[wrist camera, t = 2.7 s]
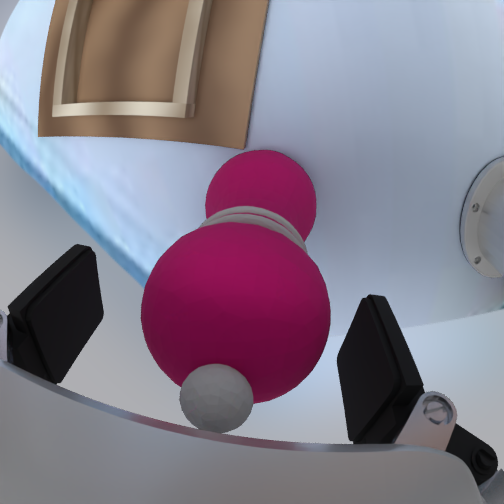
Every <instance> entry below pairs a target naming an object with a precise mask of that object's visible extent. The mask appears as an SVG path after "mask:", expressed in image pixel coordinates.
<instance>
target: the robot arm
mask: <svg viewBox="0 0 504 504" xmlns="http://www.w3.org/2000/svg"><path fill="white" fill-rule="evenodd" d="M460 234H461V244H462V248H463V252H464V254H465V256H466V259H467V260H468V262H469V263H470V264H471V266H472V267H473V268H474V269H475V270H476V271H477V272H478V273H480V274H481V275H483V276H485V277H490V278H499V277H504V157H501V158H498V159H496V160H494V161H493V162H491V163H490V164H488V165H487V166H486V167H485V168H484V169H483V170H482V171H481V173H480V174H479V175H478V177H477V178H476V180H475V181H474V183H473V185H472V187H471V189H470V191H469V193H468V195H467V198H466V201H465V204H464V208H463V212H462V217H461V227H460ZM8 309H9V312H10V314H9V315H8V316H7V315H6V314H5V312H3V311H2V310H0V504H504V471H503V470H502V469H500V470H499V471H498V470H497V466H498V460H497V456H496V453H495V451H494V450H493V449H492V448H491V447H490V446H489V445H488V444H486V443H485V442H483V441H482V440H480V439H479V438H477V437H476V436H474V435H473V434H471V433H469V432H468V431H467V430H465V429H464V428H462V427H461V426H459V425H458V424H456V420H457V411H456V408H455V406H454V404H453V402H452V401H451V400H450V399H449V398H448V397H447V396H445V395H444V394H441V393H439V392H434V391H431V392H426V393H425V392H424V389H423V382H422V379H421V377H420V375H419V372H418V369H417V367H416V364H415V362H414V360H413V357H412V355H411V352H410V350H409V348H408V345H407V343H406V341H405V339H404V336H403V334H402V332H401V329H400V327H399V325H398V323H397V321H396V318H395V316H394V314H393V312H392V310H391V308H390V305H389V303H388V301H387V299H386V298H385V297H384V296H378V295H371V294H369V295H368V296H367V297H366V298H362V300H361V302H360V304H359V307H358V309H357V311H356V314H355V316H354V319H353V321H352V323H351V326H350V328H349V330H348V333H347V335H346V337H345V339H344V342H343V344H342V346H341V348H340V351H339V353H338V356H337V367H338V373H339V379H340V384H341V391H342V397H343V403H344V409H345V417H346V424H347V431H348V438H349V440H350V441H353V444H321V443H299V442H285V441H274V440H265V439H264V440H263V439H256V438H248V437H241V436H234V435H228V434H222V433H216V432H210V431H205V430H200V429H195V428H190V427H186V426H181V425H177V424H172V423H168V422H164V421H160V420H156V419H153V418H149V417H146V416H142V415H139V414H135V413H132V412H129V411H125V410H122V409H119V408H116V407H113V406H110V405H107V404H104V403H101V402H98V401H96V400H93V399H90V398H88V397H85V396H82V395H79V394H77V393H75V392H72V391H70V390H67V389H65V388H62V387H60V386H58V385H56V384H57V383H61V382H62V380H63V379H64V377H65V375H66V374H67V372H68V371H69V369H70V368H71V366H72V364H73V363H74V361H75V360H76V358H77V357H78V355H79V354H80V352H81V350H82V349H83V347H84V346H85V344H86V343H87V341H88V340H89V338H90V337H91V335H92V334H93V332H94V331H95V329H96V328H97V326H98V325H99V324H100V322H101V321H102V319H103V314H104V311H103V304H102V299H101V293H100V285H99V278H98V271H97V262H96V255H95V252H93V251H92V249H91V247H89V246H84V245H79V244H76V245H74V246H73V247H72V248H71V249H69V250H68V251H67V252H66V253H65V254H63V255H62V256H61V257H60V258H59V259H58V260H56V261H55V262H54V263H53V264H52V265H51V266H50V267H49V268H47V269H46V270H45V271H44V272H43V273H42V274H41V275H40V276H39V277H38V278H36V279H35V280H34V281H33V282H32V283H31V284H30V285H29V286H28V287H27V288H26V289H25V290H24V291H23V292H22V293H21V294H20V295H19V296H18V297H17V298H16V299H15V300H14V301H13V302H12V303H11V304H10V305H9V306H8Z"/></svg>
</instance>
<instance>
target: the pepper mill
mask: <svg viewBox="0 0 504 504" xmlns="http://www.w3.org/2000/svg"><path fill="white" fill-rule="evenodd" d="M205 208H206V218H207V220H205V221H204V222H203V223H202V225H201V226H200V227H199V228H198V229H196V230H194V231H192V232H190V233H188V234H186V235H184V236H182V237H181V238H180V239H179V240H177V241H176V242H175V243H174V244H173V245H172V246H171V247H170V248H169V249H168V250H167V251H166V252H165V253H164V254H163V255H162V256H161V257H160V258H159V260H158V261H157V263H156V265H155V266H154V268H153V270H152V272H151V274H150V276H149V278H148V281H147V283H146V285H145V289H144V294H143V299H142V304H141V323H142V329H143V333H144V337H145V341H146V343H147V346H148V349H149V350H150V353H151V354H152V356H153V358H154V360H155V361H156V363H157V364H158V366H159V367H160V369H161V370H162V371H164V373H165V374H167V376H168V377H169V378H170V379H171V380H172V381H173V382H174V383H175V384H177V385H179V386H180V387H181V391H180V404H181V408H182V411H183V413H184V415H185V416H186V418H187V419H188V420H189V421H190V422H191V423H192V424H193V425H194V426H196V427H197V428H198V429H200V430H205V431H210V432H216V433H225V432H228V431H231V430H234V429H236V428H238V427H239V426H241V425H242V424H243V423H244V422H245V421H246V419H247V418H248V416H249V415H250V413H251V410H252V407H253V404H255V403H260V402H265V401H270V400H272V399H275V398H277V397H279V396H282V395H284V394H286V393H287V392H289V391H290V390H292V389H293V388H295V387H296V386H298V385H299V384H300V383H301V382H302V381H303V380H304V379H305V378H306V377H307V376H308V375H309V374H310V373H311V371H312V370H313V369H314V367H315V366H316V364H317V362H318V361H319V359H320V357H321V355H322V353H323V350H324V348H325V345H326V342H327V339H328V334H329V329H330V313H331V311H330V302H329V297H328V293H327V288H326V284H325V282H324V279H323V277H322V275H321V273H320V271H319V269H318V267H317V265H316V264H315V263H314V262H313V260H312V259H311V258H310V257H309V256H308V254H307V250H306V246H305V244H304V241H305V240H306V238H307V237H308V235H309V233H310V231H311V229H312V227H313V224H314V221H315V217H316V195H315V190H314V187H313V184H312V182H311V180H310V178H309V176H308V175H307V173H306V172H305V171H304V170H303V168H302V167H301V166H300V165H298V164H297V163H296V162H295V161H293V160H292V159H291V158H289V157H287V156H285V155H284V154H282V153H279V152H276V151H271V150H254V151H249V152H244V153H242V154H239V155H237V156H235V157H233V158H232V159H230V160H228V161H227V162H226V163H225V164H224V165H222V167H221V168H220V169H219V170H218V171H217V173H216V174H215V176H214V177H213V179H212V181H211V183H210V185H209V188H208V191H207V194H206V203H205Z"/></svg>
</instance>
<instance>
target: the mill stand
mask: <svg viewBox="0 0 504 504" xmlns="http://www.w3.org/2000/svg"><path fill="white" fill-rule="evenodd" d="M268 6H269V0H56V1H55V5H54V9H53V13H52V17H51V22H50V26H49V31H48V36H47V42H46V48H45V54H44V61H43V68H42V77H41V86H40V98H39V116H38V137H49V136H95V137H123V138H141V139H155V140H168V141H179V142H189V143H198V144H207V145H215V146H223V147H230V148H237V149H244V148H245V147H246V140H247V133H248V127H249V120H250V114H251V107H252V101H253V95H254V88H255V82H256V76H257V70H258V64H259V58H260V52H261V46H262V40H263V34H264V28H265V23H266V17H267V11H268Z"/></svg>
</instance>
